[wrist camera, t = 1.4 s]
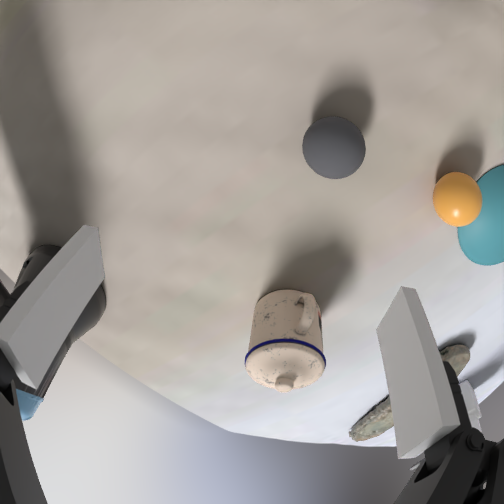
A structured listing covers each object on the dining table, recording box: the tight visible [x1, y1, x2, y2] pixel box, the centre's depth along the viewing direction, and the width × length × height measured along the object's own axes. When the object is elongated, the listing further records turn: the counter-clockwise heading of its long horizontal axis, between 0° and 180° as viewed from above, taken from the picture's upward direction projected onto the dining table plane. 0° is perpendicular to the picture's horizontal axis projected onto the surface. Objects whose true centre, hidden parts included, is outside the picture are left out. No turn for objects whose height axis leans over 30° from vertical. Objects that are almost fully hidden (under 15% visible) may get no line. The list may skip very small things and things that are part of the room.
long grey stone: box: [349, 344, 470, 442], centre depth 50 cm, size 35×5×10 cm
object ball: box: [433, 172, 482, 227], centre depth 27 cm, size 6×6×6 cm
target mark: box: [458, 165, 504, 265], centre depth 29 cm, size 14×14×1 cm
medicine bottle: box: [458, 380, 482, 433], centre depth 46 cm, size 7×7×12 cm
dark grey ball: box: [302, 116, 366, 179], centre depth 26 cm, size 6×6×6 cm
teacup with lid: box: [245, 290, 326, 393], centre depth 35 cm, size 12×9×12 cm
